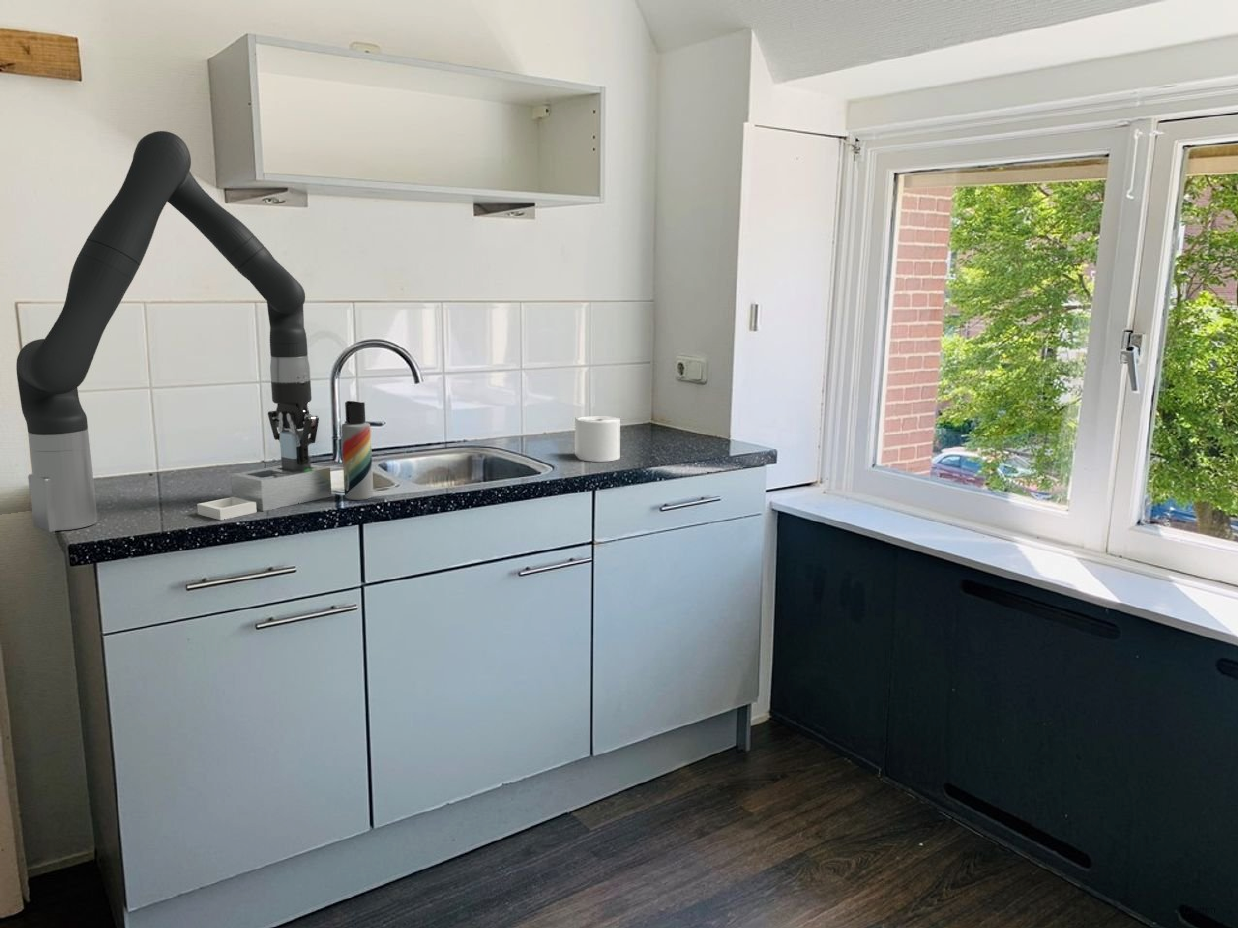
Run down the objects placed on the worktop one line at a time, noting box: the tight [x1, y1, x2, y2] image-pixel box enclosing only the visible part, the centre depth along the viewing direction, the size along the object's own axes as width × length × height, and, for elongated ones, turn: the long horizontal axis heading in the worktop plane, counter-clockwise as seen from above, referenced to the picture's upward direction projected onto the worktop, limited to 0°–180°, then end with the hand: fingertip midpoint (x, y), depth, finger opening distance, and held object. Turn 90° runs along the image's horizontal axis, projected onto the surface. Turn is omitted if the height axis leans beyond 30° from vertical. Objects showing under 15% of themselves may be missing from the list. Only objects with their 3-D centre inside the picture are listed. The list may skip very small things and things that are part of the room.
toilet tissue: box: [574, 415, 621, 463], centre depth 237 cm, size 11×12×10 cm
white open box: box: [196, 496, 258, 521], centre depth 180 cm, size 8×8×2 cm
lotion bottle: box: [340, 400, 374, 501], centre depth 193 cm, size 6×6×20 cm
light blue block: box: [278, 429, 312, 472], centre depth 193 cm, size 4×4×9 cm
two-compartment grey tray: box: [230, 463, 332, 512], centre depth 191 cm, size 16×10×6 cm, turn 145°
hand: (295, 462), depth 193 cm, fingers closed on light blue block, 4 cm apart
